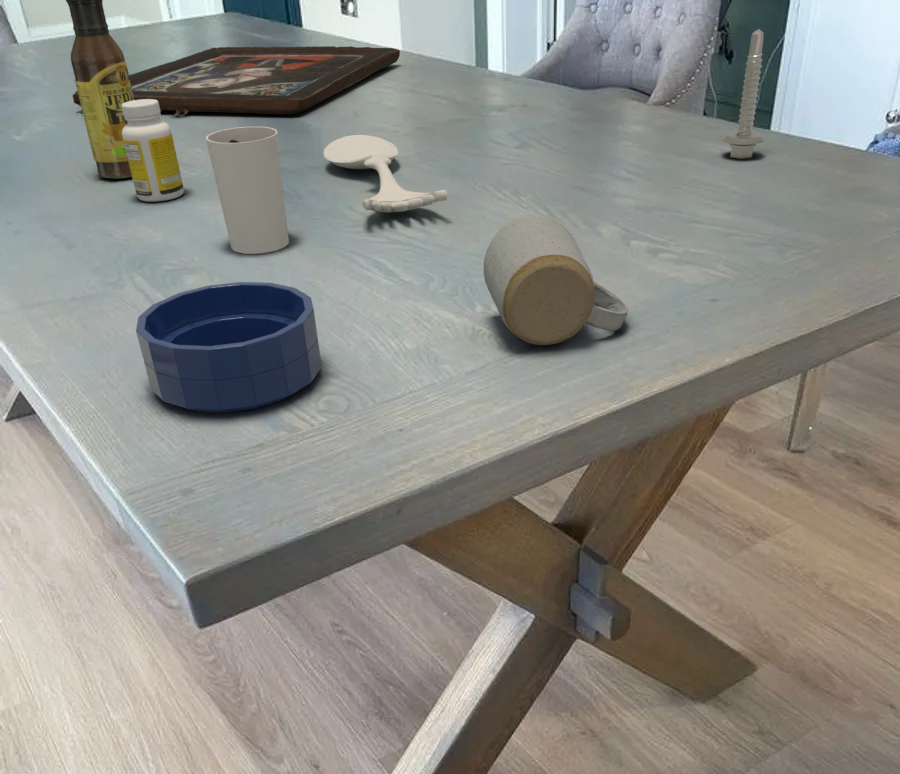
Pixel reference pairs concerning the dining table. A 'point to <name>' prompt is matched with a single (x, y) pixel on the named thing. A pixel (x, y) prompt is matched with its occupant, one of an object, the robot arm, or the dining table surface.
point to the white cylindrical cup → (250, 187)
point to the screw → (748, 104)
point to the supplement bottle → (150, 152)
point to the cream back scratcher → (378, 156)
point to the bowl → (230, 346)
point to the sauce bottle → (101, 86)
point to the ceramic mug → (546, 283)
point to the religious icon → (257, 78)
